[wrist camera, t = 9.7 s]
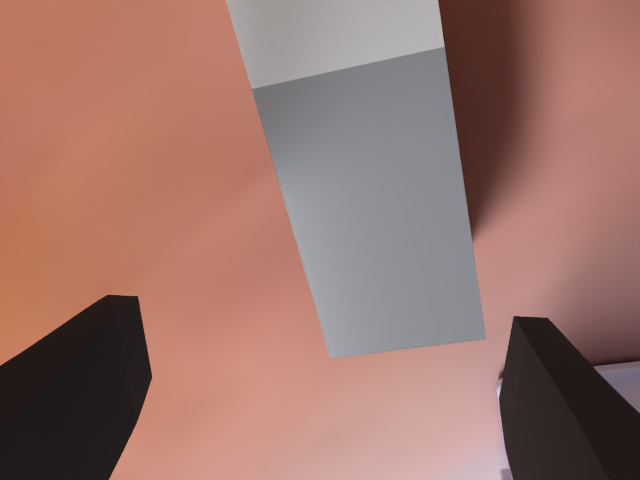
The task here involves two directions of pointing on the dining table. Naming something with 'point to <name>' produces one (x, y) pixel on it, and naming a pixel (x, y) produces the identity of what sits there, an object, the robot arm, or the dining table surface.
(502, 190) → the dining table surface
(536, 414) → the robot arm
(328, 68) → the box
